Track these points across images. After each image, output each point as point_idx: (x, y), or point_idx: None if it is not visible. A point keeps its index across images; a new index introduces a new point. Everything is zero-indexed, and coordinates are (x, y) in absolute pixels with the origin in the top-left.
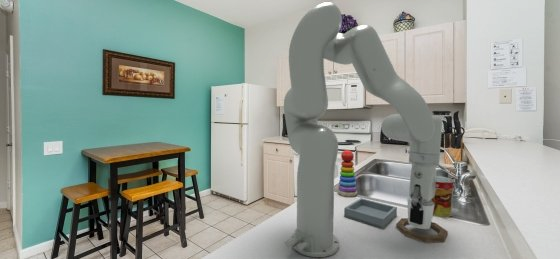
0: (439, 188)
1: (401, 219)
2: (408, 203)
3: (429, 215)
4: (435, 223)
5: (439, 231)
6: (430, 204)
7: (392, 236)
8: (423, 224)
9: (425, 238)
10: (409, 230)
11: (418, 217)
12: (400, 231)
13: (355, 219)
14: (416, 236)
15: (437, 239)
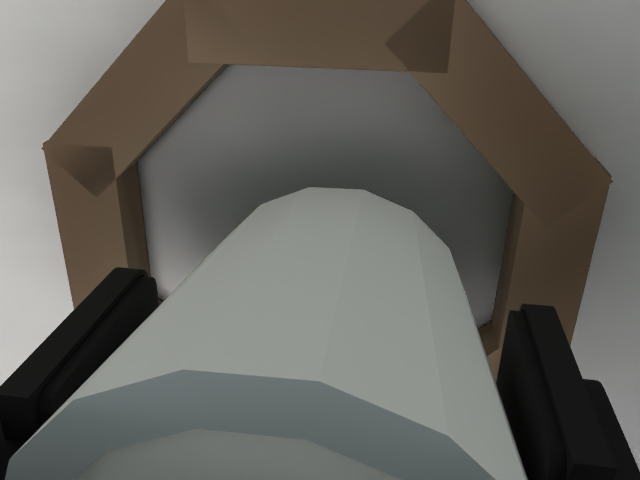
0: None
1: None
2: None
3: (425, 300)
4: (57, 144)
5: (221, 70)
6: (351, 454)
7: (632, 434)
8: (459, 282)
9: (607, 183)
10: (497, 352)
11: (619, 425)
12: None
13: None
14: (580, 269)
15: (510, 57)
